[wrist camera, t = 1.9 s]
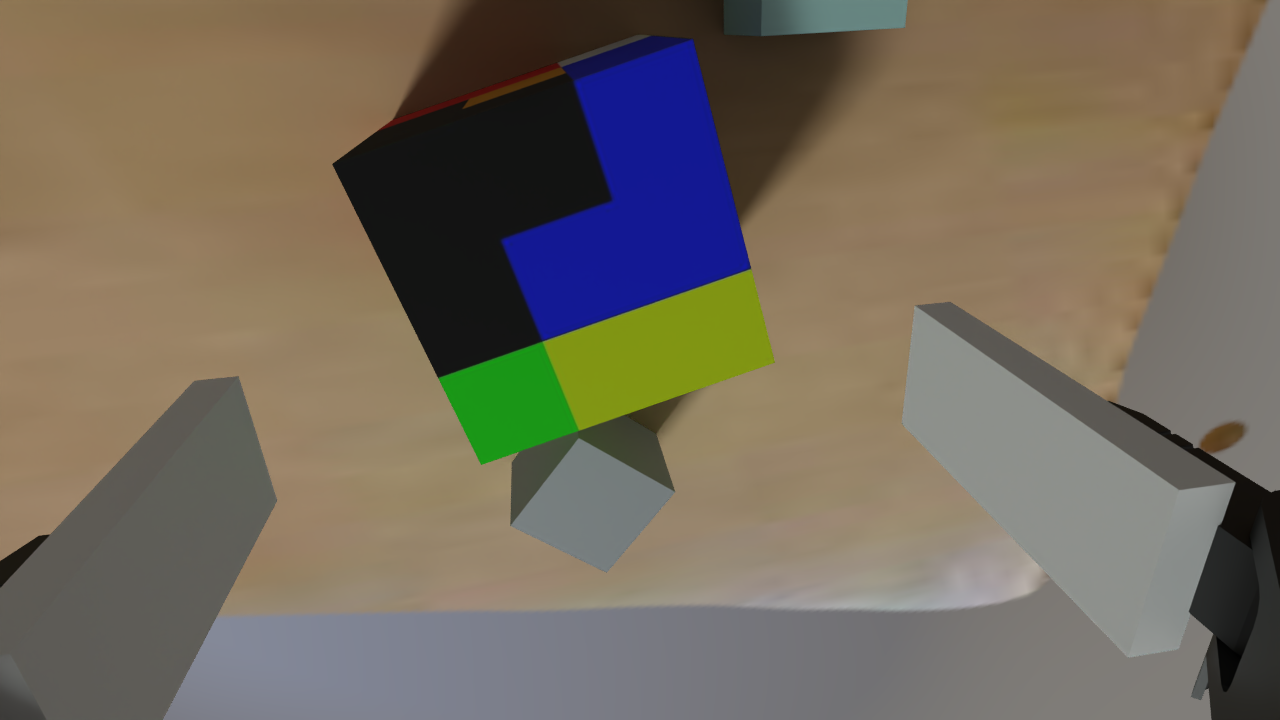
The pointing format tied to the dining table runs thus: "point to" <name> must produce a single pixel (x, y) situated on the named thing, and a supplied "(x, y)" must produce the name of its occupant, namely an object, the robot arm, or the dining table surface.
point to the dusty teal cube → (810, 16)
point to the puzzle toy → (565, 242)
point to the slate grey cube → (591, 490)
